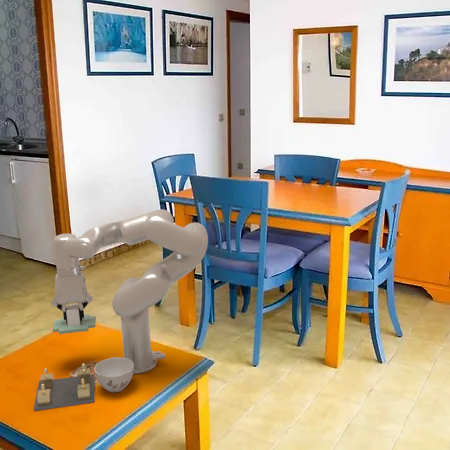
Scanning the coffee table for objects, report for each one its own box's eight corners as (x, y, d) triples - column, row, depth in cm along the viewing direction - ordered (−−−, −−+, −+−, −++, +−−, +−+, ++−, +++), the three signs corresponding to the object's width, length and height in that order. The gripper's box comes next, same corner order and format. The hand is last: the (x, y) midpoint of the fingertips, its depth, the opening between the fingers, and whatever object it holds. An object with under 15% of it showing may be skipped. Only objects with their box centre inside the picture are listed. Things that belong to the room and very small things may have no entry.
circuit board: (96, 315, 202) (94, 299, 200) (94, 330, 190) (93, 312, 189) (55, 320, 199) (53, 303, 198) (52, 334, 188) (49, 316, 186)
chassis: (94, 376, 191) (92, 357, 189) (94, 402, 175) (92, 382, 174) (39, 384, 187) (36, 365, 185) (34, 410, 172) (31, 390, 170)
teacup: (134, 396, 178) (132, 374, 176) (94, 400, 177) (92, 377, 174) (136, 372, 192) (134, 351, 190) (99, 375, 191) (97, 354, 189)
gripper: (94, 264, 195) (99, 313, 199) (44, 269, 192) (50, 318, 197) (93, 271, 187) (98, 322, 192) (41, 276, 185) (48, 327, 189)
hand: (74, 320), depth 194 cm, fingers closed on circuit board, 4 cm apart
